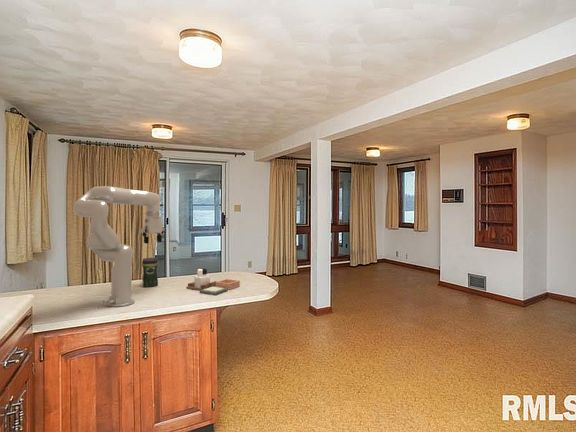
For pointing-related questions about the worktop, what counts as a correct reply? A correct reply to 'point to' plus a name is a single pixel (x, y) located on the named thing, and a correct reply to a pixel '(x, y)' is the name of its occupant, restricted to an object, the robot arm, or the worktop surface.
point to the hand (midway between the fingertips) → (152, 242)
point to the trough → (208, 285)
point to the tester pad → (213, 289)
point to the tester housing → (213, 292)
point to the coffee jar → (149, 272)
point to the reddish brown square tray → (228, 284)
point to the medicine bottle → (201, 278)
